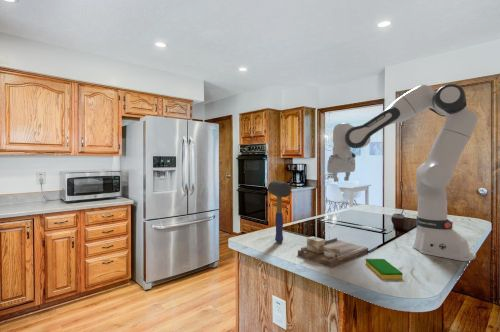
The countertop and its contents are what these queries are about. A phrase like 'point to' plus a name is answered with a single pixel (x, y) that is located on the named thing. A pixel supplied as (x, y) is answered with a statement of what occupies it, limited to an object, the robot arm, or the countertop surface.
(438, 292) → the countertop surface
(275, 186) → the rubber mallet
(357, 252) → the walnut board
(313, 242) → the marking gauge
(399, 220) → the mate gourd
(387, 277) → the dish sponge
